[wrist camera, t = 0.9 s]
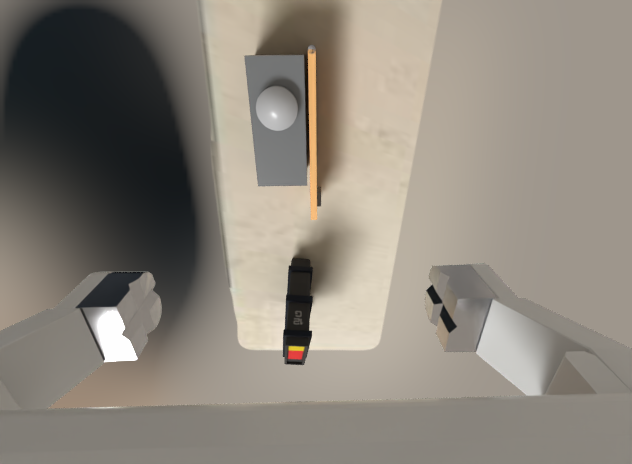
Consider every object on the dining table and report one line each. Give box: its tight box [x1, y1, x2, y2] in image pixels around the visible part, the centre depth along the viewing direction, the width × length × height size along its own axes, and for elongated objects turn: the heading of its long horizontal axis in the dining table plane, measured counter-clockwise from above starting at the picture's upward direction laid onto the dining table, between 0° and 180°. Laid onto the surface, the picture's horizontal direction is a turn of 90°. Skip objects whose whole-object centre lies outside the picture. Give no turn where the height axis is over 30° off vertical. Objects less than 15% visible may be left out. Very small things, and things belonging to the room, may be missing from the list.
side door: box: [308, 45, 321, 220], centre depth 40 cm, size 20×1×6 cm, turn 0°
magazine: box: [283, 259, 313, 365], centre depth 51 cm, size 4×13×15 cm, turn 175°
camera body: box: [245, 55, 307, 186], centre depth 38 cm, size 14×6×8 cm, turn 1°
